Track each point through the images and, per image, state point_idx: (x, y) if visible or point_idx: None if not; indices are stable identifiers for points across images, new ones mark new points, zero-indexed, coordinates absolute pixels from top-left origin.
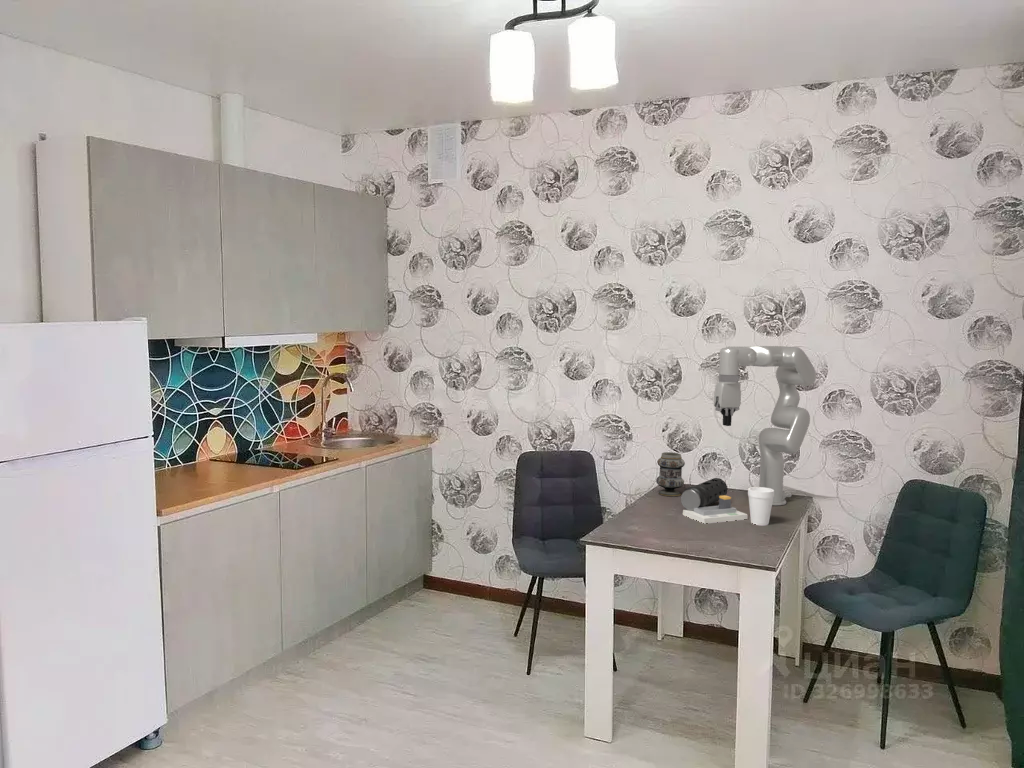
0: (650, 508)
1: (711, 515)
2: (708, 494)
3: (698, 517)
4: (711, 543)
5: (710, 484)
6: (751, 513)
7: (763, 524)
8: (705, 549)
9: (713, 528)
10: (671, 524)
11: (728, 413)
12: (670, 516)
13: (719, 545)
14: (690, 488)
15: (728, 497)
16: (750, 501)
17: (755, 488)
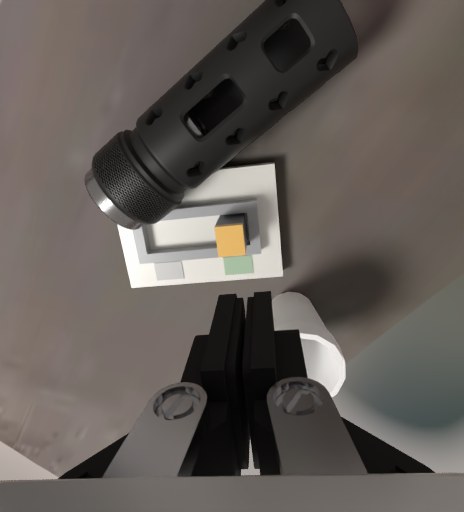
0: (37, 64)
1: (166, 265)
2: (190, 188)
3: (126, 260)
4: (85, 415)
5: (230, 123)
6: None
7: None
8: (57, 441)
9: (141, 323)
10: (47, 264)
11: (270, 460)
12: (71, 184)
13: (96, 429)
14: (104, 192)
15: (234, 255)
16: None
17: (303, 336)
